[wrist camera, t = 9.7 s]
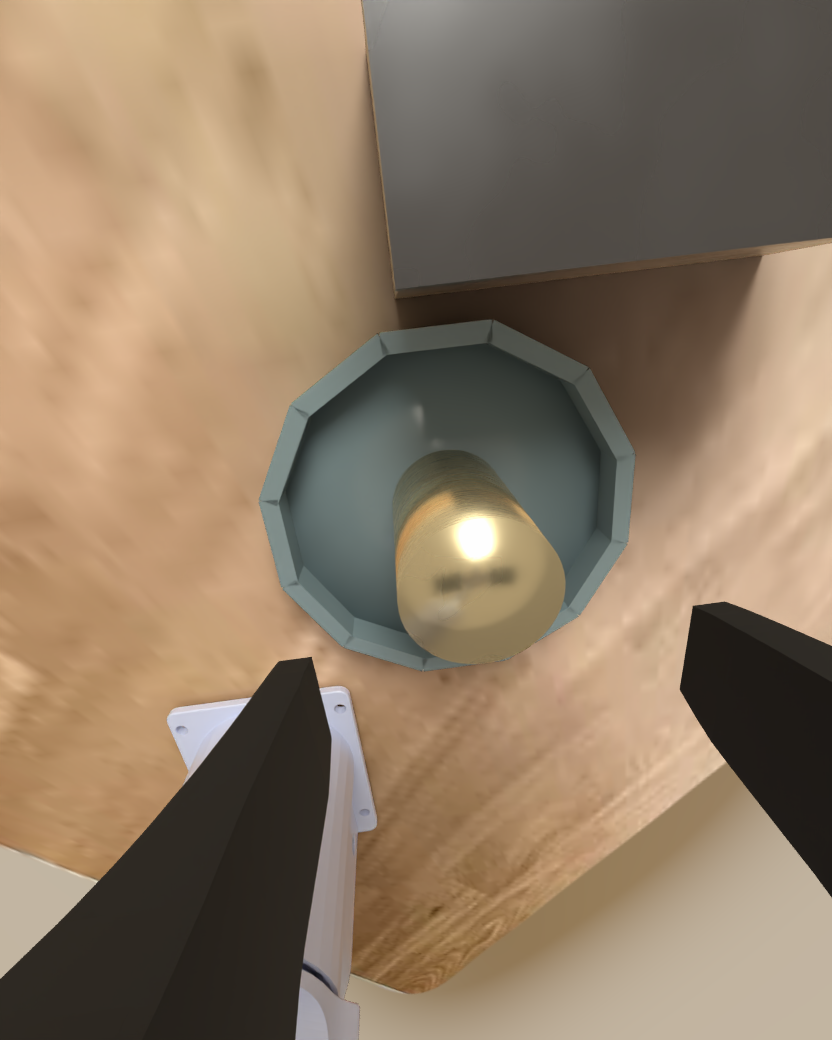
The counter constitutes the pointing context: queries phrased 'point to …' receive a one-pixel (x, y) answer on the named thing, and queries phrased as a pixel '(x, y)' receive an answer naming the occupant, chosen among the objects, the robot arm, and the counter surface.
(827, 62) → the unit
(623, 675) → the counter surface
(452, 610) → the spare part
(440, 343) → the plate
